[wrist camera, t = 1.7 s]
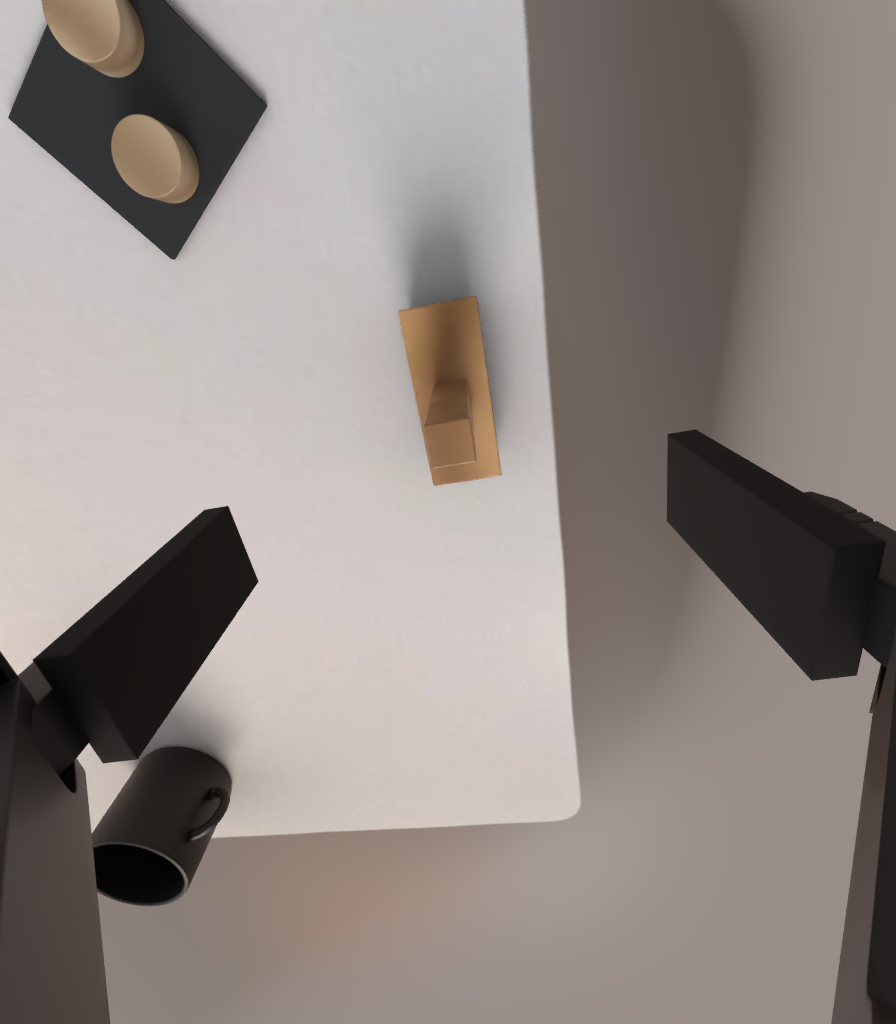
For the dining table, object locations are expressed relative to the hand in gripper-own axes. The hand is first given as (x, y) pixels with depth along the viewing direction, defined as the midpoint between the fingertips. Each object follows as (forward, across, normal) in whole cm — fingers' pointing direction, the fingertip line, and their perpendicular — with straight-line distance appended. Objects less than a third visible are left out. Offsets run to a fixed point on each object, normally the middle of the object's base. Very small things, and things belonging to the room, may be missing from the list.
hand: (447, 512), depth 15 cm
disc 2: (+19, -14, +15) cm, 28 cm away
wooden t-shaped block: (+19, 0, 0) cm, 19 cm away
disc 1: (+19, -14, +21) cm, 32 cm away
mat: (+19, -14, +18) cm, 30 cm away
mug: (+20, -32, -34) cm, 51 cm away
